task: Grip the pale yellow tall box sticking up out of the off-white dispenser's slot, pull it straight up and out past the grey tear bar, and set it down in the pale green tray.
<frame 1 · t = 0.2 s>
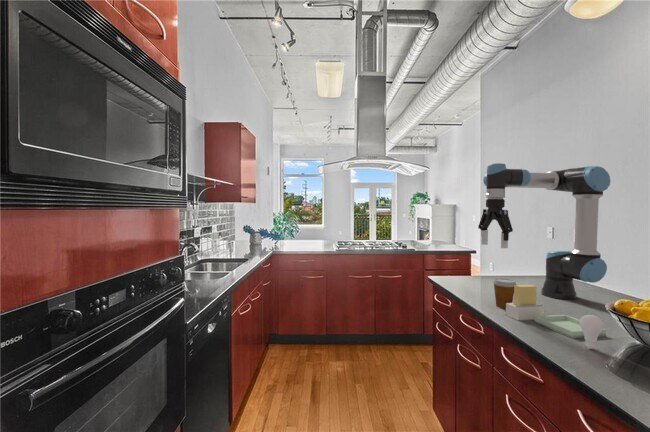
hand: (493, 246, 157), 28 cm above the worktop, fingers open, 13 cm apart
lightbulb: (590, 349, 113), on the worktop
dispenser: (524, 316, 145), on the worktop
tray: (568, 328, 132), on the worktop
disposable coffee cup: (503, 306, 160), on the worktop
pale yellow tall box: (524, 317, 145), resting in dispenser
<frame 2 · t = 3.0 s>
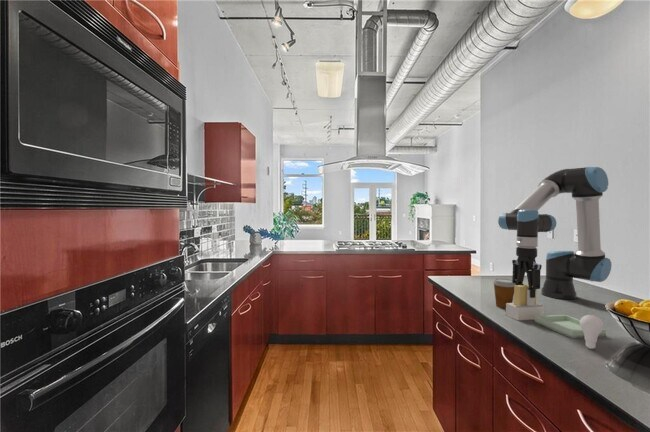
hand: (525, 303, 145), 6 cm above the worktop, fingers open, 5 cm apart
nothing on the worktop moved.
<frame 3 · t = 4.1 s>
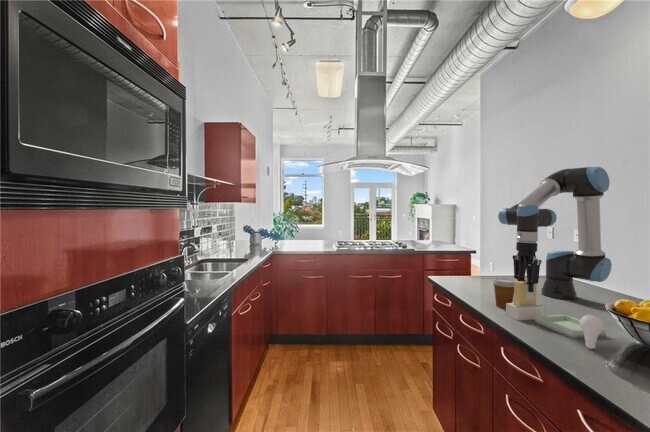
hand: (525, 298, 145), 8 cm above the worktop, fingers closed on pale yellow tall box, 3 cm apart
pale yellow tall box: (524, 313, 145), point 2 cm above the worktop, touching gripper
everything else where it was.
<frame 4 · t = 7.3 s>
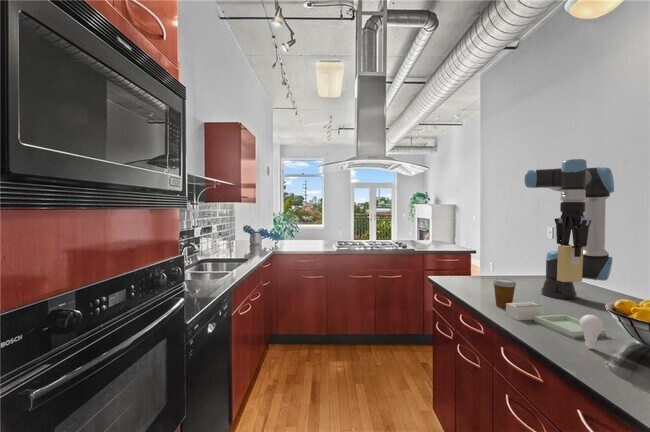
hand: (570, 264, 131), 24 cm above the worktop, fingers closed on pale yellow tall box, 3 cm apart
pale yellow tall box: (569, 280, 131), point 18 cm above the worktop, touching gripper
everything else where it was.
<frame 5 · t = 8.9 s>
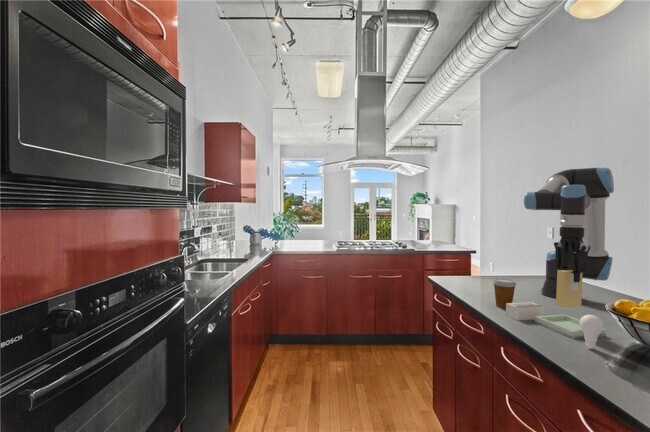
hand: (569, 289, 131), 15 cm above the worktop, fingers closed on pale yellow tall box, 3 cm apart
pale yellow tall box: (568, 305, 131), point 9 cm above the worktop, touching gripper
everything else where it was.
when the fingers open (8 cm above the worktop, at t = 10.5 s): pale yellow tall box stays where it is, resting on tray.
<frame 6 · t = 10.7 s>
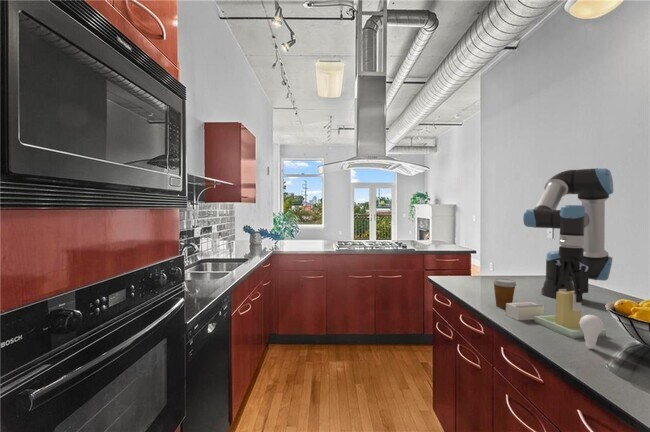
hand: (569, 308, 131), 8 cm above the worktop, fingers open, 5 cm apart
pale yellow tall box: (567, 326, 132), point 1 cm above the worktop, touching tray
everything else where it was.
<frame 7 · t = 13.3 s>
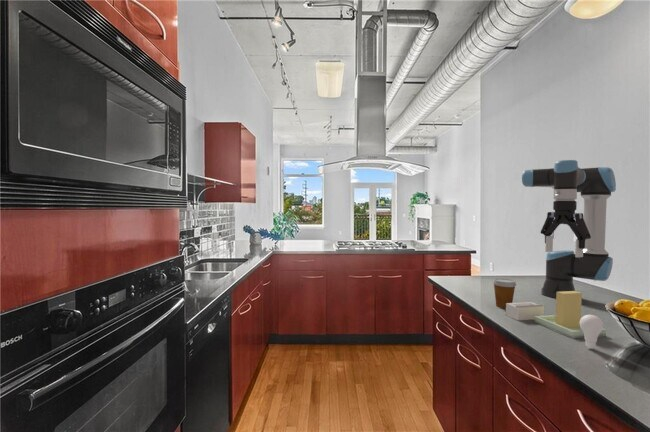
hand: (563, 254, 138), 27 cm above the worktop, fingers open, 13 cm apart
nothing on the worktop moved.
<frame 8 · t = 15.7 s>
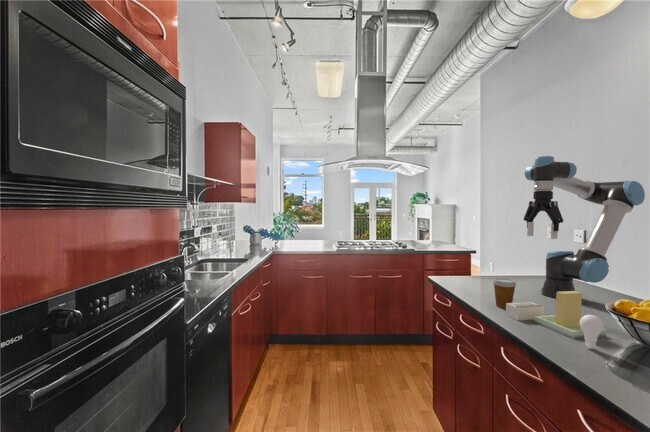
hand: (541, 237, 160), 32 cm above the worktop, fingers open, 13 cm apart
nothing on the worktop moved.
at the end: pale yellow tall box inside the target area on the tray (0.2 cm from its centre), point 0.8 cm above the tray's base; pale yellow tall box touching tray; the gripper is holding nothing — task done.
